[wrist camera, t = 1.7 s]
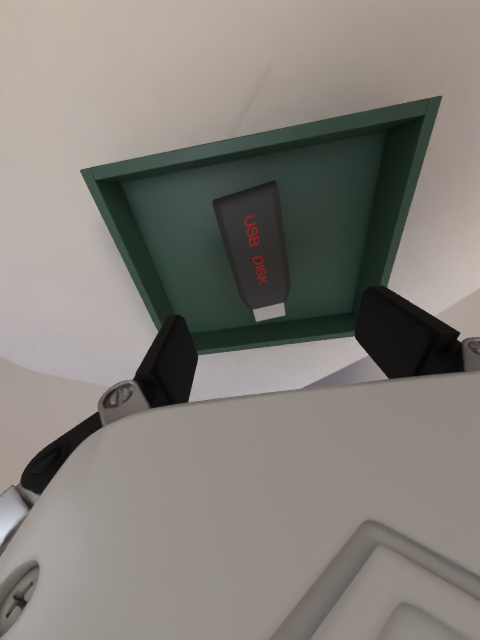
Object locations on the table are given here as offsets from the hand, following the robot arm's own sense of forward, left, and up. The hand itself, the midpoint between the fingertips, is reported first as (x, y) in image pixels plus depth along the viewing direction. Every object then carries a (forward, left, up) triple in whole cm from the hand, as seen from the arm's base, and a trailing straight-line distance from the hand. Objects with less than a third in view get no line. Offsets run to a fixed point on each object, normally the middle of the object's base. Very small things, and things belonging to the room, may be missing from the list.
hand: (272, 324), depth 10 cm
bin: (0, 0, -12) cm, 12 cm away
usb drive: (0, 0, -11) cm, 11 cm away
